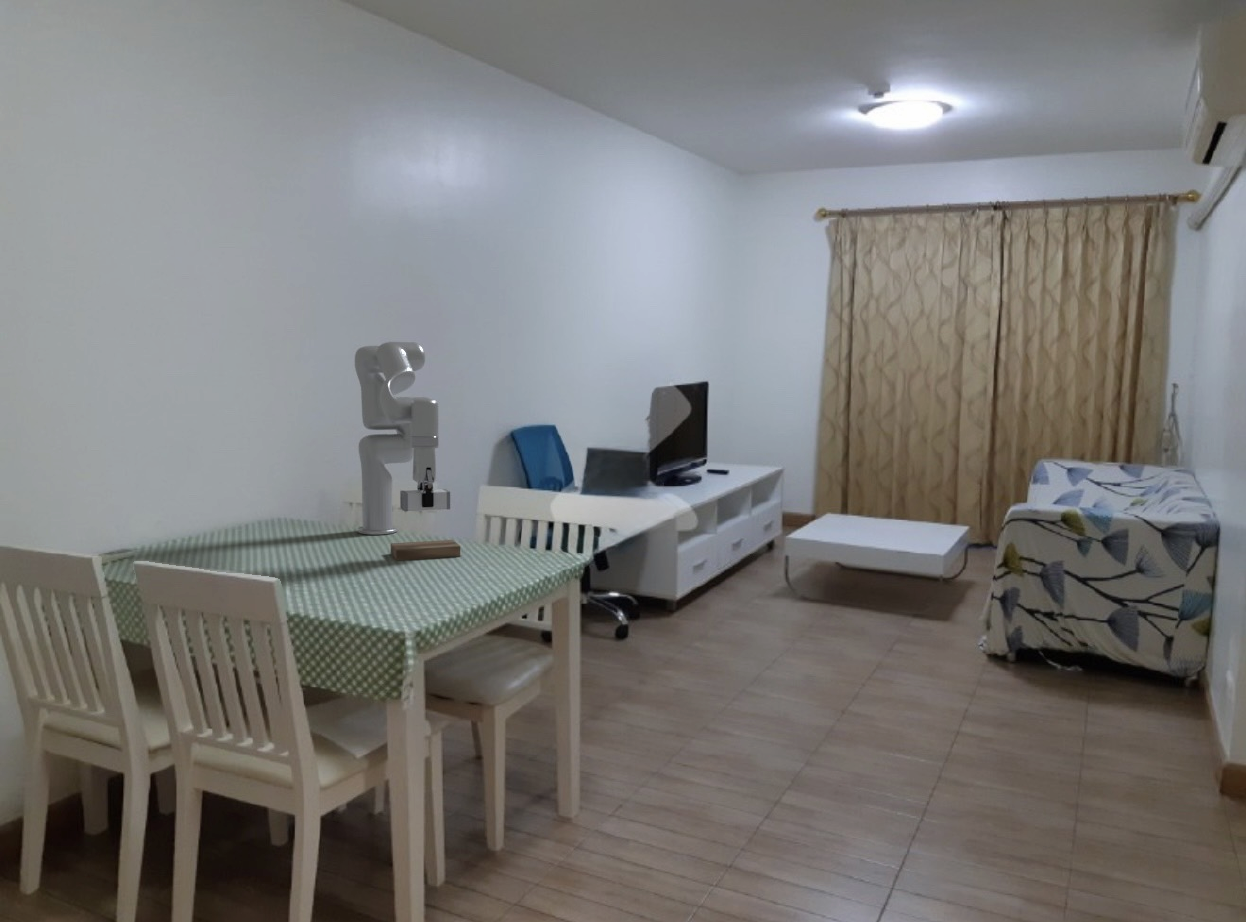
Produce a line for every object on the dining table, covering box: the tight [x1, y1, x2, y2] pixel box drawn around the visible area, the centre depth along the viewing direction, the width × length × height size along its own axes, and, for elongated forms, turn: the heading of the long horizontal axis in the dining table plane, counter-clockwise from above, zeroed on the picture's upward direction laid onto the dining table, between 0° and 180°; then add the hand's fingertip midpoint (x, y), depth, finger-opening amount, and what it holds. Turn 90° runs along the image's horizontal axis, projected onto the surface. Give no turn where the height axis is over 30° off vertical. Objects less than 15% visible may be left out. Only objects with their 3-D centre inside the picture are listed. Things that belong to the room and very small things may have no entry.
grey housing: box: [399, 488, 451, 512], centre depth 274 cm, size 6×13×5 cm, turn 113°
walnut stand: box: [390, 539, 461, 561], centre depth 276 cm, size 10×18×3 cm, turn 113°
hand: (425, 504), depth 274 cm, fingers closed on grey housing, 6 cm apart
